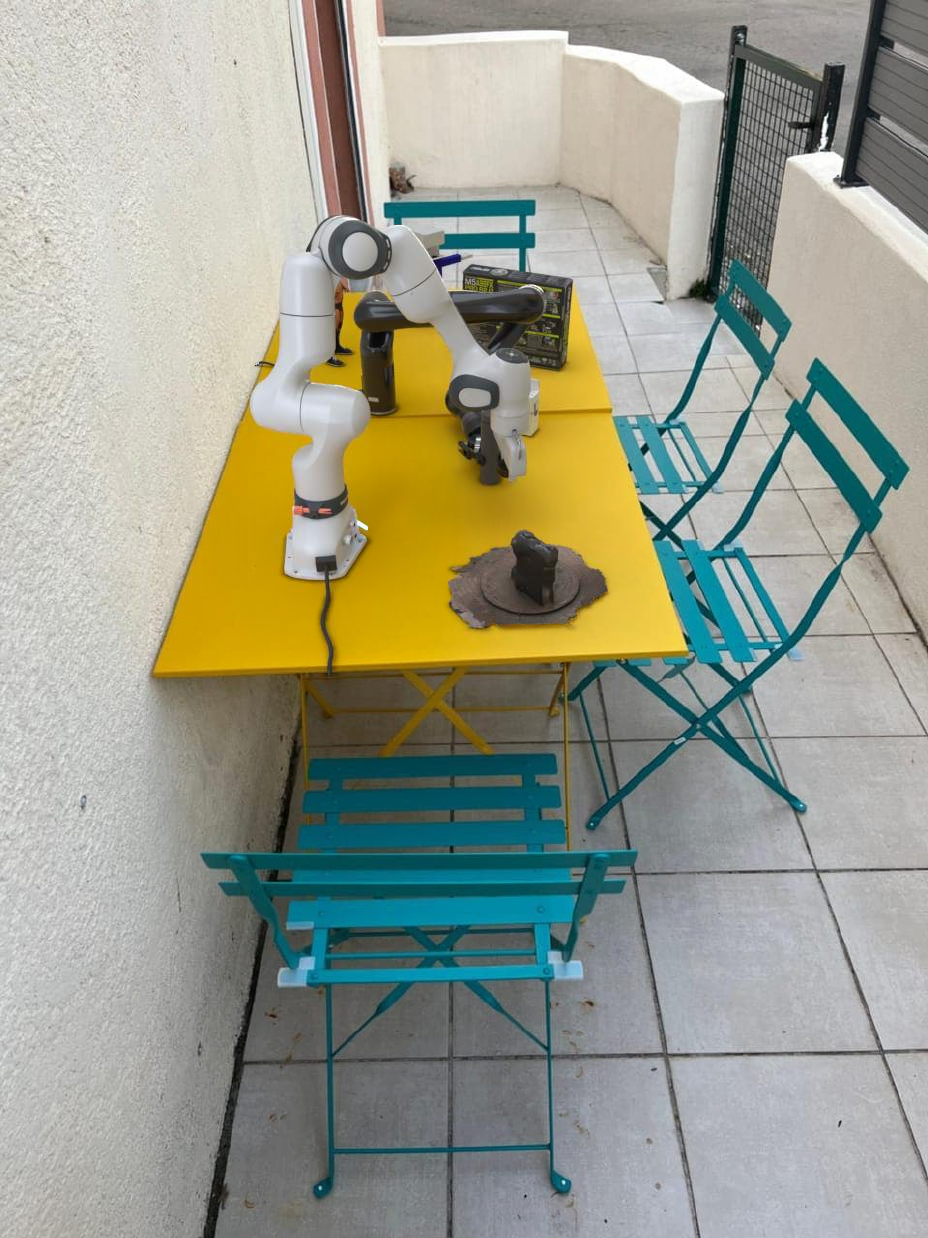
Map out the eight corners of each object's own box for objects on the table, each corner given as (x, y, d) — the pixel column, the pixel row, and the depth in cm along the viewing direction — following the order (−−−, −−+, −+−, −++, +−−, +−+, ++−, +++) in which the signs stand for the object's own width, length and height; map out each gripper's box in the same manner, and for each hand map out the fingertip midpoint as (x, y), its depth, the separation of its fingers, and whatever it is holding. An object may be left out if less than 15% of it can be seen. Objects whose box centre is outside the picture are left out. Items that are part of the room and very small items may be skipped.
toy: (460, 304, 319) (459, 216, 299) (477, 312, 313) (477, 222, 294) (381, 329, 302) (375, 237, 283) (398, 337, 296) (393, 244, 277)
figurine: (337, 375, 275) (327, 277, 255) (318, 373, 276) (306, 275, 256) (359, 343, 293) (351, 250, 273) (341, 342, 294) (332, 248, 274)
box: (567, 361, 281) (574, 276, 264) (561, 371, 276) (566, 284, 258) (470, 346, 291) (469, 262, 273) (461, 355, 285) (460, 270, 268)
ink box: (503, 429, 247) (504, 380, 238) (510, 422, 250) (512, 373, 241) (531, 436, 244) (533, 386, 234) (538, 429, 247) (541, 379, 238)
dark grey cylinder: (479, 475, 229) (480, 408, 217) (498, 474, 229) (500, 407, 217) (481, 485, 225) (481, 417, 213) (500, 484, 225) (501, 417, 213)
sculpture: (594, 649, 177) (601, 586, 167) (427, 621, 184) (424, 559, 174) (615, 555, 202) (623, 495, 191) (467, 533, 209) (467, 474, 198)
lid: (520, 479, 207) (520, 471, 206) (495, 477, 208) (495, 470, 207) (522, 465, 212) (522, 458, 210) (498, 464, 212) (498, 457, 211)
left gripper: (534, 441, 193) (532, 494, 203) (513, 397, 208) (512, 449, 218) (506, 444, 193) (505, 497, 202) (487, 400, 208) (487, 452, 217)
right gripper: (450, 420, 230) (465, 452, 217) (503, 414, 232) (521, 445, 220) (450, 445, 235) (465, 478, 222) (503, 439, 237) (520, 471, 224)
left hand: (508, 472), depth 210 cm, fingers closed on lid, 5 cm apart
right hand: (492, 461), depth 221 cm, fingers closed on dark grey cylinder, 5 cm apart
